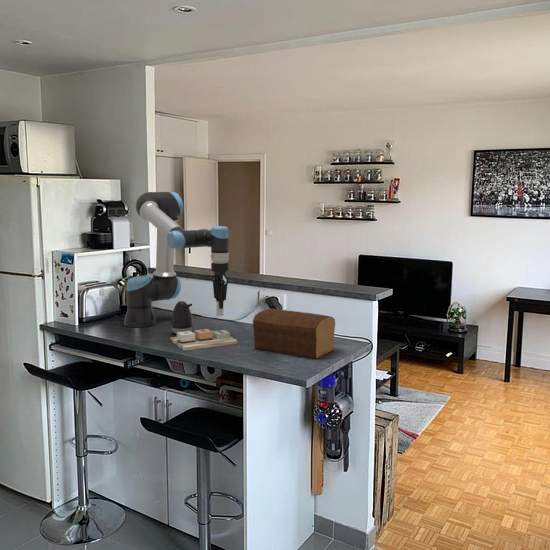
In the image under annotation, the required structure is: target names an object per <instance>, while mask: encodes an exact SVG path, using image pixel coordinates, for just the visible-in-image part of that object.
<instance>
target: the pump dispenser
mask: <svg viewBox="0 0 550 550" xmlns="http://www.w3.org/2000/svg"><path fill="white" fill-rule="evenodd" d="M192 306H193V303H188V304H187V301H184V300H180V301H178V302H177V303H176V304H175V306H174V308H173V310H172V314H171V317H170V318H171V319H170V328H171V329H172V332H173V333H174V334H176V335H177V332H185V331H191V332H192V330H193V327H194V319H193V314H192V312H191V309H190V307H192Z"/></svg>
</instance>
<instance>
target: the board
mask: <svg viewBox="0 0 550 550" xmlns="http://www.w3.org/2000/svg"><path fill="white" fill-rule="evenodd" d="M169 339H170V342H171V341H172V343H173V344H174V345H175V346H177V347H178V348H180V349H181V350H183V351H192V350H200V349H201V348H202V349H208V348H213V347H214V348H215V347H221V346H222V347H223V346H230V345H238V340H237V339H236V338H234V337H233V336H230V338H224V339H215V338H207V339H198V338H196V337H195V340H191V341H183V342H181V341H180V340H178V339H177V336H172V337H170V338H169Z"/></svg>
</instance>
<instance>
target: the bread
mask: <svg viewBox="0 0 550 550" xmlns="http://www.w3.org/2000/svg"><path fill="white" fill-rule="evenodd" d="M252 329H253V339H254V340H253V341H254V349H257V350H262V351H269V352H274V353H279V354H286V355H291V356H297V357H302V358H303V357H305V358H309V359H319V358H321V357H322V356H324V355H326V354H329V353H330V352H332V351H333V350H334V340H335V329H336V318H334V317H333V316H329V315H325V314H318V313H311V312H302V311H296V310H294V311H293V310H287V309H286V310H285V309H280V308H279V309H277V308H267V309H263V310H261V311H259V312H257V313H256V314H255V315H254V317H253V318H252Z"/></svg>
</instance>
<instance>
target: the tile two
mask: <svg viewBox="0 0 550 550" xmlns="http://www.w3.org/2000/svg"><path fill="white" fill-rule="evenodd" d="M212 331H213V330H210V329H209V328H202V329H195V330H194V334H195V337H196V338H198V339H207V338H213V332H212Z"/></svg>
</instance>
